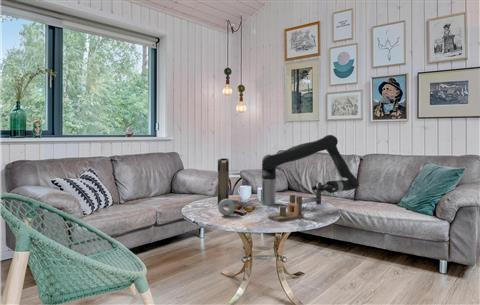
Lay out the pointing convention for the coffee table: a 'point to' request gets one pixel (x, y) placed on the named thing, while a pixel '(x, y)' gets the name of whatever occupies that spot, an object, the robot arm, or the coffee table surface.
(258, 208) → the coffee table surface
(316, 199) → the grey piece
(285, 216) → the shaft stand
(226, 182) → the decorative book
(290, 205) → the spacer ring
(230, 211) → the donut
